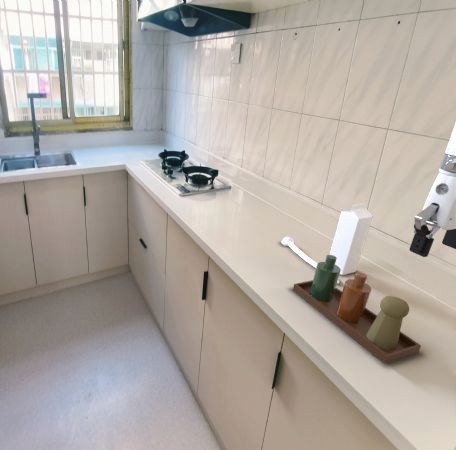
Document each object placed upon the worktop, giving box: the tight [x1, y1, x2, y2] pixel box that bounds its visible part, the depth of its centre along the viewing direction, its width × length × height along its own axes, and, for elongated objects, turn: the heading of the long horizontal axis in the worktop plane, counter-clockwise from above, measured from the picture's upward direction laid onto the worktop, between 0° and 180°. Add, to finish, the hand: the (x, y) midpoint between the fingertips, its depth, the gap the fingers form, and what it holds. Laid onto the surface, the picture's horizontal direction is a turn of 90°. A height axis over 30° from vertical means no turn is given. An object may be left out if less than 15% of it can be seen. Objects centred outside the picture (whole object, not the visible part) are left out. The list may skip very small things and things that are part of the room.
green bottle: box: [310, 254, 341, 302], centre depth 90 cm, size 6×6×12 cm
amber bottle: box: [336, 271, 372, 323], centre depth 82 cm, size 6×6×12 cm
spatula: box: [281, 236, 341, 285], centre depth 110 cm, size 28×4×3 cm, turn 15°
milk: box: [329, 202, 374, 276], centre depth 102 cm, size 6×6×22 cm
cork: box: [366, 295, 410, 350], centre depth 75 cm, size 6×6×11 cm
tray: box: [292, 279, 422, 365], centre depth 84 cm, size 10×28×2 cm, turn 20°
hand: (434, 250), depth 68 cm, fingers open, 9 cm apart
